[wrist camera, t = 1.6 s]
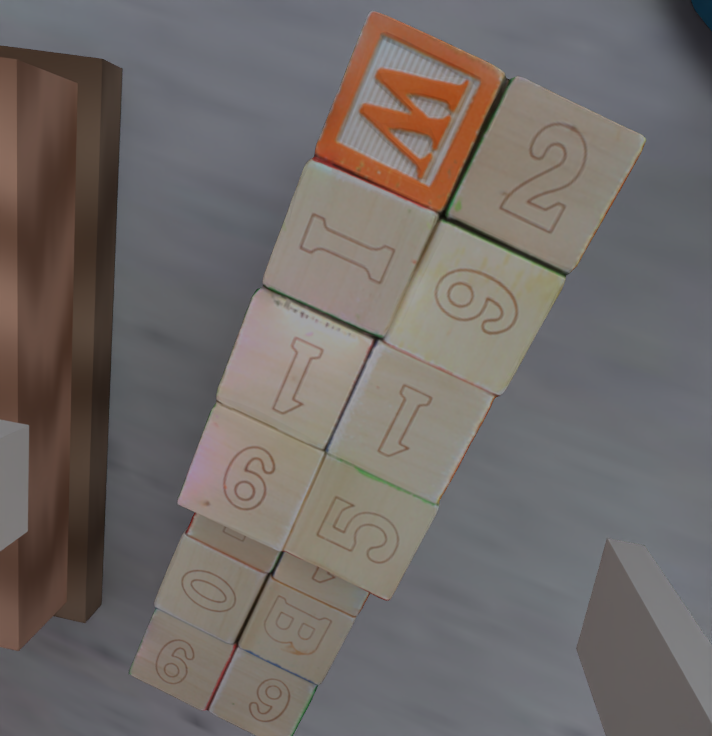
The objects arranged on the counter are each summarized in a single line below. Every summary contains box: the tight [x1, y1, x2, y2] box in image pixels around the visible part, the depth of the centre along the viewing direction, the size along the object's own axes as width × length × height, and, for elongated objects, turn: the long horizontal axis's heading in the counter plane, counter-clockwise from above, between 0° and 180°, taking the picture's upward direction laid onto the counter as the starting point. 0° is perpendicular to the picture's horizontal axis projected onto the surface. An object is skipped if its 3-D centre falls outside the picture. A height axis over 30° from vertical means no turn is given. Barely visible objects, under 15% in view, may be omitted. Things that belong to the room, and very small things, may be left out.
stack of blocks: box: [129, 11, 646, 736], centre depth 20 cm, size 21×6×12 cm, turn 155°
